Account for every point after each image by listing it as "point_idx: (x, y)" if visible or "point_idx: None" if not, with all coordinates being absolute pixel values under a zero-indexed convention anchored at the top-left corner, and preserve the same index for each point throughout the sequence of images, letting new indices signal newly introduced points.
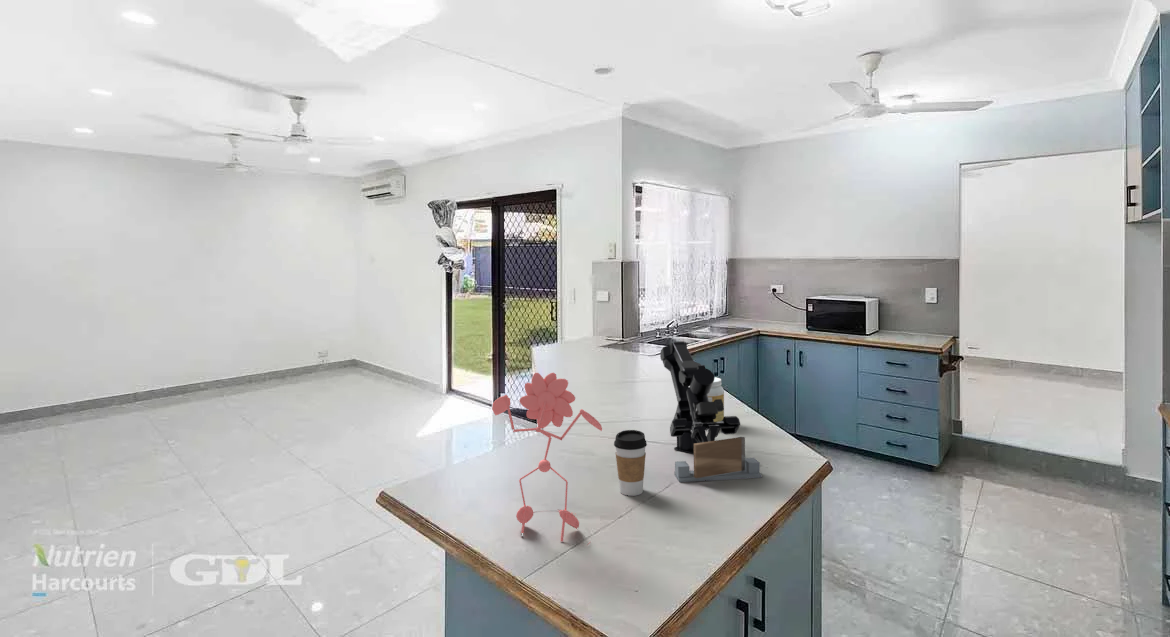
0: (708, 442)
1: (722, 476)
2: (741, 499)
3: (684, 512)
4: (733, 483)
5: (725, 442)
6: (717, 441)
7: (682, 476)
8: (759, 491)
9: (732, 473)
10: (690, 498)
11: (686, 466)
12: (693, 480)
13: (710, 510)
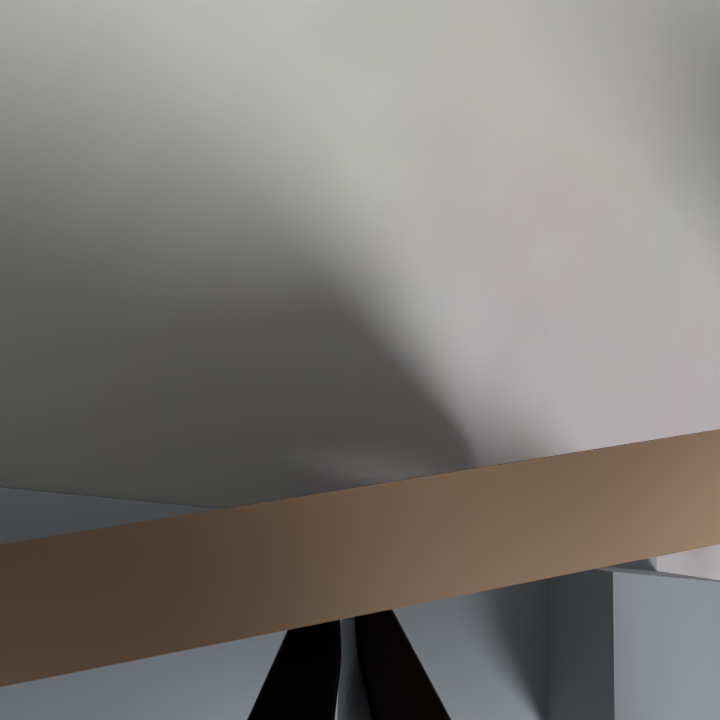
0: (500, 518)
1: (207, 507)
2: (254, 92)
3: (701, 47)
4: (150, 394)
5: (5, 546)
6: (242, 538)
7: (625, 566)
8: (18, 173)
9: None
10: (617, 215)
11: (646, 575)
12: None
13: (538, 20)
